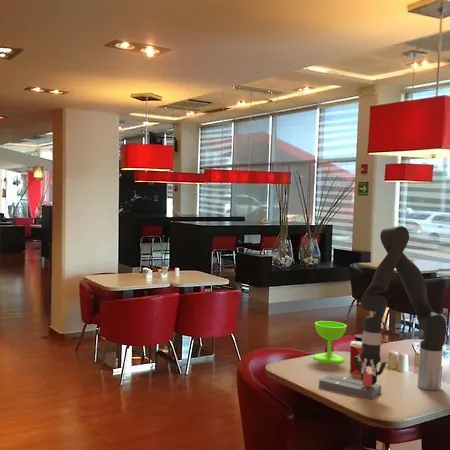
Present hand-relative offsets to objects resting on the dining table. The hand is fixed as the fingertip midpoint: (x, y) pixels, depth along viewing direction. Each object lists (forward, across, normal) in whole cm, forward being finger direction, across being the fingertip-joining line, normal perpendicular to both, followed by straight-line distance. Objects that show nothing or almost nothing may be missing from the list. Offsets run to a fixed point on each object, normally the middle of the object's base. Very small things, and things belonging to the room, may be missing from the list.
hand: (368, 382), depth 233 cm
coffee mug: (+5, +24, -60) cm, 65 cm away
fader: (+1, 0, 0) cm, 1 cm away
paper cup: (+5, +15, -28) cm, 32 cm away
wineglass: (+5, +34, -40) cm, 53 cm away
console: (+5, +8, 0) cm, 9 cm away
